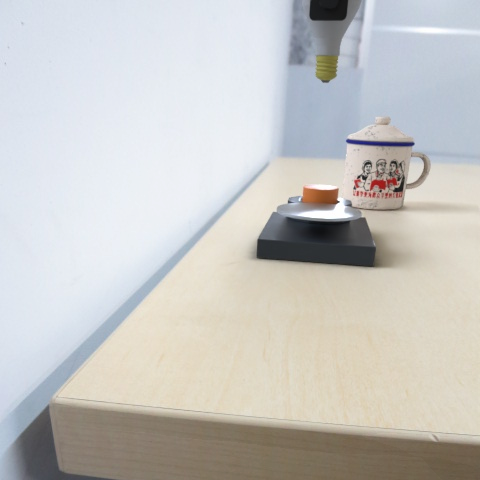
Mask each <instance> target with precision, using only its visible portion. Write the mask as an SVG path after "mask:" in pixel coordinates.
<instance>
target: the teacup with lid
mask: <svg viewBox="0 0 480 480" xmlns="http://www.w3.org/2000/svg"><path fill="white" fill-rule="evenodd" d="M345 143H347V144H346V153H345V162H344V172H343V181H342V188H341V189H342V190H341V198H343V199H346V200H349V201H351V202H352V208H356V209H357V208H358V209H364V210H373V211H374V210H377V211H380V210H381V211H385V210H386V211H390V210H398V209H400V208H402V207H403V206H404V202H405V198H406V197H405V195H406V190H412V189H416V188H419V187H420V186H421V185H422V184H424V182H425V181H426V180H427V178H428V176H429V175H430V171H431V167H432V164H431V160H430V158H429V156H428V155H427V154H426V153H423V152H420V151H413V147H414V146H415V138H414V137H413V136H411V135H409V134H406V133H404V132H403V131H402V130H400V128H399V127H397V126H395V125H391V117H390V116H375V118H374V124H369V125H367V126H365V127H363V128H362V129H361V130H358V131H357V132H353V133H350V134H348V136H347V139H345ZM411 158H419V159H421V160H422V162H423V170H422V172H421V174H420V175H419V177H418V178H417V179H416V180H414V181H413V182H410V183H408V177H409V171H410V163H411V160H412V159H411Z"/></svg>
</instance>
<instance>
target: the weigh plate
mask: <svg viewBox="0 0 480 480" xmlns="http://www.w3.org/2000/svg"><path fill="white" fill-rule="evenodd" d="M276 212H278V213H279V214H281V215H283V216H286V217H290V218H295V219H301V220H310V221H326V222H337V221H350V220H355V219H358V218H360V217H362V215H363V213H362V211H361V210H360V209H359V208H358V209H357V208H356V207H349V206H344V205H337V204H329V203H313V202H300V203H288V202H287V203H283V204H280V205H278V206H276Z"/></svg>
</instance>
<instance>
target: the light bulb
mask: <svg viewBox="0 0 480 480" xmlns="http://www.w3.org/2000/svg"><path fill="white" fill-rule="evenodd" d="M362 1H363V0H348V8H347V17H346V19H345V20H343V21H312V20H311V19H310V17H309V11H310V0H301V2H302V4H301V5H302V9H303V12H304V15H305V17H306V20H307V22H308V24H309V26H310V29H311V31H312V34H313V36H314V40H315V41H314V42H315V52H314V53H315V54H314V55H315V61H316V63H315V66H316V67H315V70H316V71H315V74H314V76H315V77H316V79H318V80H319V81H321V82H322V83H323V84H329V83H330V81H332V80H334V79H336V78H337V76H338V73H337V72H338V69H337V68H339V67H338V63H339V57H340V52H341V45H342V41H343V38H344V36H345V35H346V34H347V31H348V29H349V27H350V25H352V22H353V20H354V19H355V17H356V15H357V13H358V12H359V10H360V8H361V6H362V5H361V4H362Z"/></svg>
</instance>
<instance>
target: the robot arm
mask: <svg viewBox="0 0 480 480" xmlns="http://www.w3.org/2000/svg"><path fill="white" fill-rule="evenodd" d="M347 8H348V0H310V11H309V17H310V19H311V20H312V21H343V20H345V19H346V17H347Z"/></svg>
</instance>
